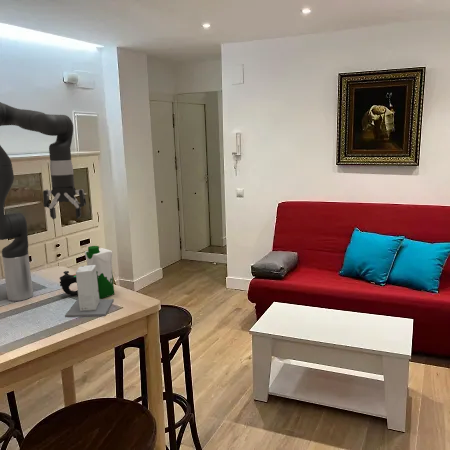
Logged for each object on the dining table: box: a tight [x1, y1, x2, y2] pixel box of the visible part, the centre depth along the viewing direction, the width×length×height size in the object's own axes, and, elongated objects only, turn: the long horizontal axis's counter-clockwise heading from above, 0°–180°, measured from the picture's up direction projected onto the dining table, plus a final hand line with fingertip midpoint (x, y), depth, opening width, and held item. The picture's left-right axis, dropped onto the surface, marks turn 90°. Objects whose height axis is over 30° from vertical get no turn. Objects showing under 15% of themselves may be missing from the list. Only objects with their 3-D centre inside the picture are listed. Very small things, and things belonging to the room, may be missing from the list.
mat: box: [64, 298, 115, 318], centre depth 166 cm, size 14×14×1 cm
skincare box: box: [75, 264, 100, 311], centre depth 164 cm, size 8×6×15 cm
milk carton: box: [84, 245, 115, 299], centre depth 178 cm, size 9×9×20 cm
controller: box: [59, 270, 78, 297], centre depth 180 cm, size 4×12×10 cm, turn 113°
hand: (66, 218), depth 163 cm, fingers open, 8 cm apart
